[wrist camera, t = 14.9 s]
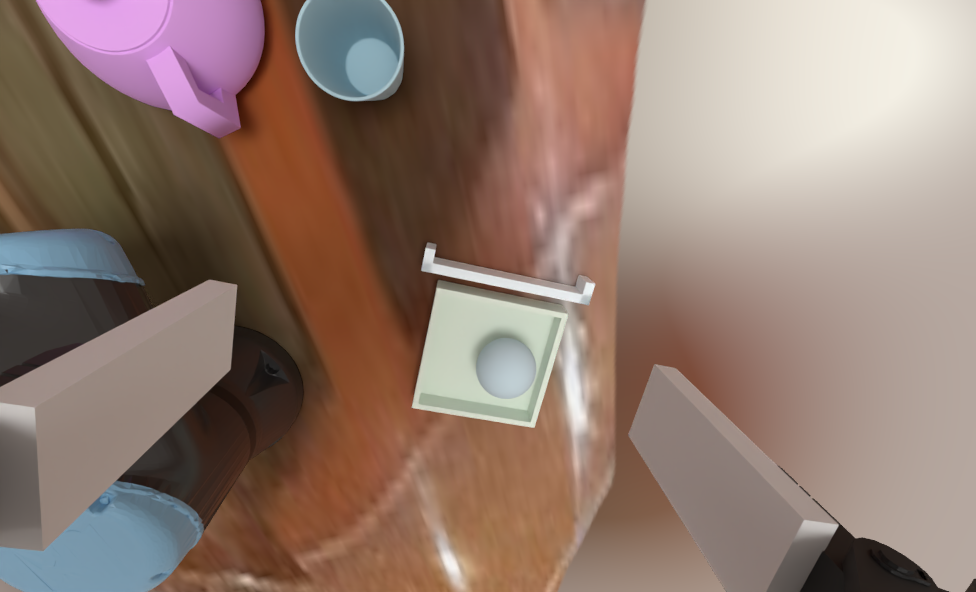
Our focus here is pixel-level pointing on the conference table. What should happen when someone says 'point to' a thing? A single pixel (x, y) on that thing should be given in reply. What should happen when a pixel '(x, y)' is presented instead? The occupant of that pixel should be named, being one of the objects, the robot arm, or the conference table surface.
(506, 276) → the white bar handle
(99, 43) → the teapot
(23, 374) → the robot arm
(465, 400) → the tray
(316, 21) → the cup
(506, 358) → the ball
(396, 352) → the conference table surface
